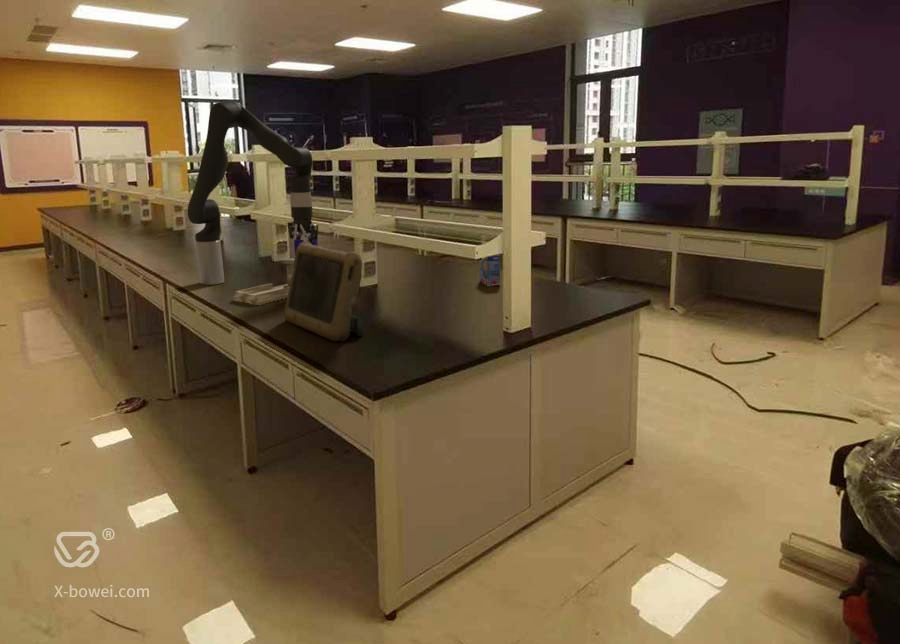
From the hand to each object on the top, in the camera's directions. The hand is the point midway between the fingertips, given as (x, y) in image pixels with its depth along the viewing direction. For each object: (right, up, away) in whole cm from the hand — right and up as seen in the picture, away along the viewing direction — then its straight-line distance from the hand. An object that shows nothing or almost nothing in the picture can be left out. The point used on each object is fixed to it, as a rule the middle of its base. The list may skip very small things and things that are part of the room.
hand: (304, 251), depth 237 cm
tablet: (+15, -28, -39) cm, 51 cm away
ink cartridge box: (+69, -11, +20) cm, 73 cm away
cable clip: (0, -1, +1) cm, 1 cm away
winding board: (-11, -16, +3) cm, 20 cm away
